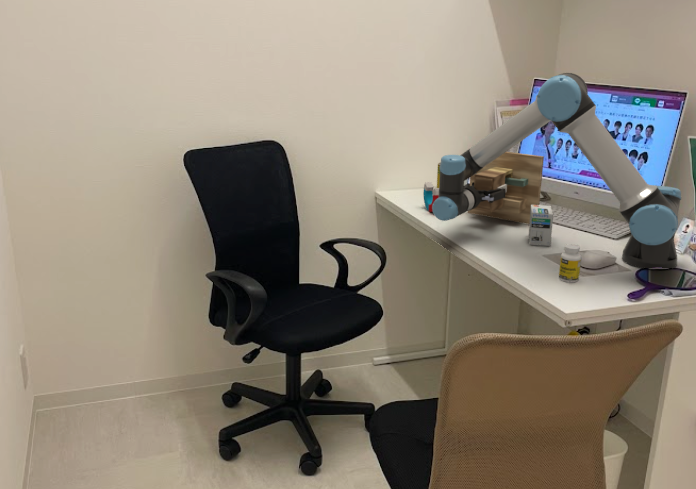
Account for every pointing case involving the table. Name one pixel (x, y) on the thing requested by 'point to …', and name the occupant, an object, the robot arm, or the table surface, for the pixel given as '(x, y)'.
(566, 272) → the supplement bottle
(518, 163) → the wall board
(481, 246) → the table surface
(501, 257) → the table surface
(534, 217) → the light bulb box
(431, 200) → the magnet
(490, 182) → the cabinet
